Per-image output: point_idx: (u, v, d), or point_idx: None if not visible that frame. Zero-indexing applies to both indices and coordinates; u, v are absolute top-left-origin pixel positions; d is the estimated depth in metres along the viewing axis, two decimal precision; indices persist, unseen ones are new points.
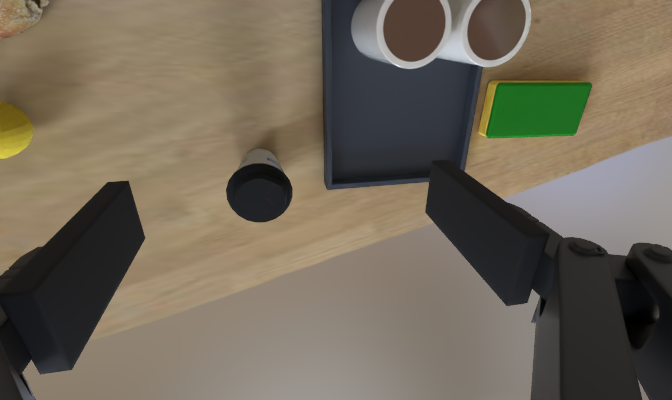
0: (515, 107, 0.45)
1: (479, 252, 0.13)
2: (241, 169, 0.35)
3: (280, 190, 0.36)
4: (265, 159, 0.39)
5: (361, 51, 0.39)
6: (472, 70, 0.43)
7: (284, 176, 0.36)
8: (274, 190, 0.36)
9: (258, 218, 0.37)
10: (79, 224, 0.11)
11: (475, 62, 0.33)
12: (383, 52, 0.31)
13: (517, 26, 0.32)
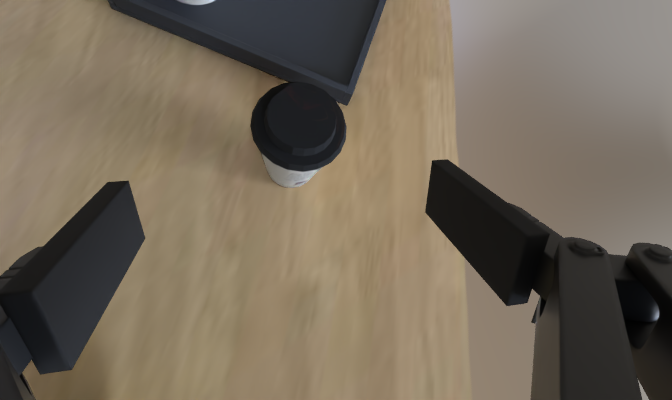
0: None
1: (479, 252, 0.13)
2: (252, 127, 0.24)
3: (300, 86, 0.24)
4: None
5: None
6: None
7: (288, 83, 0.25)
8: (297, 92, 0.24)
9: (330, 133, 0.24)
10: (79, 224, 0.11)
11: None
12: None
13: None
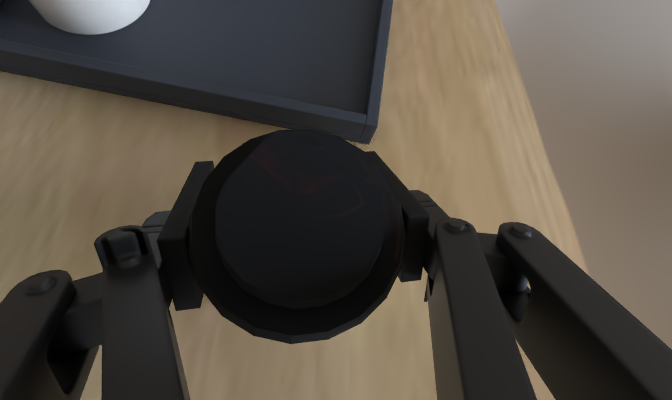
0: None
1: None
2: (191, 258, 0.10)
3: (286, 141, 0.10)
4: None
5: (114, 17, 0.21)
6: None
7: None
8: (281, 157, 0.10)
9: (377, 239, 0.10)
10: (191, 193, 0.13)
11: None
12: None
13: None
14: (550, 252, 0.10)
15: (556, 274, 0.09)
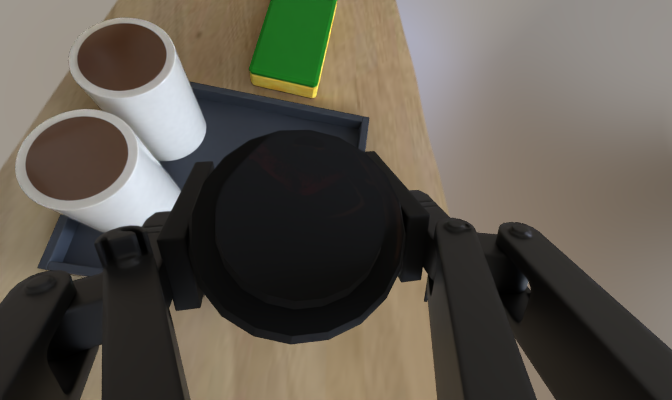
0: (284, 52, 0.36)
1: None
2: (191, 258, 0.10)
3: (286, 141, 0.10)
4: None
5: None
6: (228, 101, 0.35)
7: None
8: (281, 158, 0.10)
9: (377, 240, 0.10)
10: (191, 193, 0.13)
11: (160, 82, 0.24)
12: (96, 203, 0.21)
13: (132, 32, 0.25)
14: (550, 252, 0.10)
15: (556, 274, 0.09)
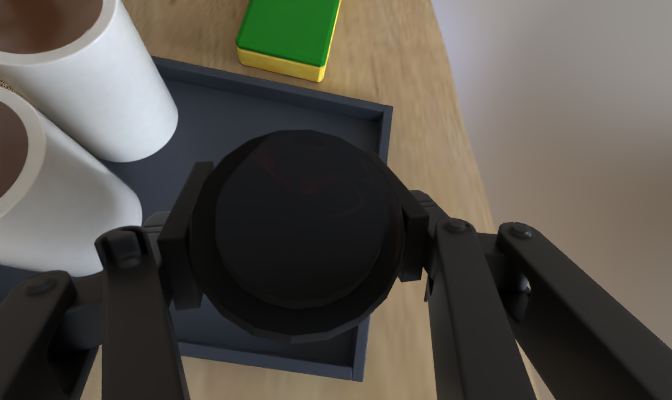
0: (282, 22, 0.28)
1: None
2: (191, 258, 0.10)
3: (286, 141, 0.10)
4: None
5: None
6: (208, 83, 0.27)
7: None
8: (281, 157, 0.10)
9: (377, 239, 0.10)
10: (191, 193, 0.13)
11: (90, 42, 0.16)
12: None
13: None
14: (551, 252, 0.10)
15: (556, 274, 0.09)
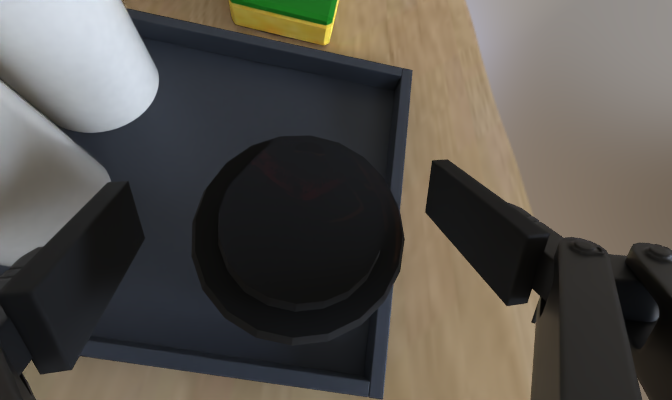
0: None
1: (479, 252, 0.13)
2: (195, 262, 0.10)
3: (287, 148, 0.11)
4: None
5: None
6: (195, 43, 0.23)
7: None
8: (283, 164, 0.10)
9: (376, 244, 0.10)
10: (79, 224, 0.11)
11: None
12: None
13: None
14: None
15: None
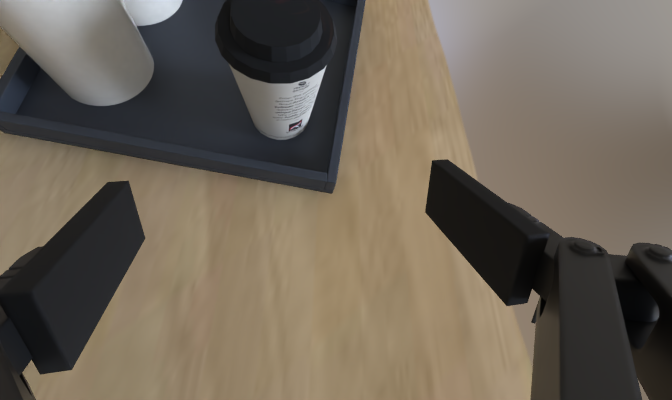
0: None
1: (479, 252, 0.13)
2: (217, 40, 0.19)
3: None
4: None
5: (123, 93, 0.26)
6: None
7: None
8: None
9: (315, 25, 0.19)
10: (79, 224, 0.11)
11: None
12: None
13: None
14: None
15: None
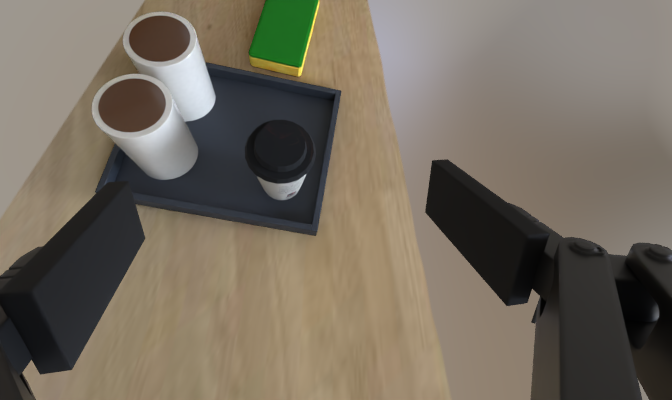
0: (276, 40, 0.47)
1: (479, 252, 0.13)
2: (246, 158, 0.33)
3: (275, 123, 0.33)
4: None
5: (180, 172, 0.40)
6: (232, 77, 0.45)
7: (267, 122, 0.35)
8: (274, 127, 0.33)
9: (302, 151, 0.33)
10: (79, 224, 0.11)
11: (186, 56, 0.35)
12: (145, 134, 0.31)
13: (166, 21, 0.35)
14: None
15: None
